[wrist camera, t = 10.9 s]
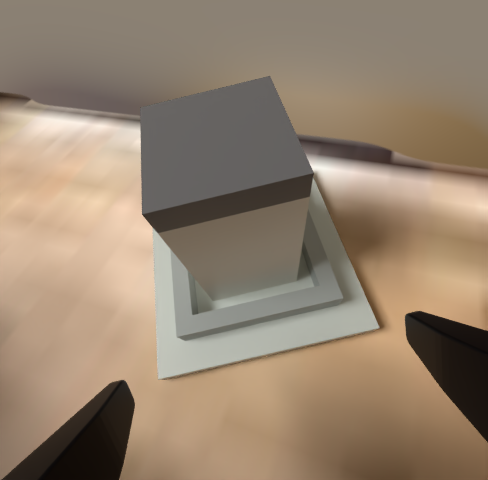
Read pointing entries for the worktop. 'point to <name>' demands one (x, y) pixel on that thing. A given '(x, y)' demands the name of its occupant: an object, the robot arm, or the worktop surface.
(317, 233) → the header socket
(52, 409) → the worktop surface
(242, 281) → the block
